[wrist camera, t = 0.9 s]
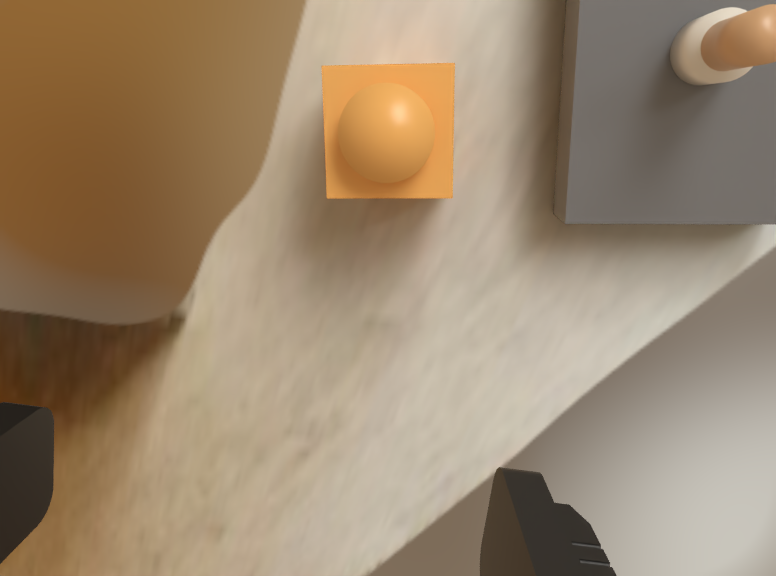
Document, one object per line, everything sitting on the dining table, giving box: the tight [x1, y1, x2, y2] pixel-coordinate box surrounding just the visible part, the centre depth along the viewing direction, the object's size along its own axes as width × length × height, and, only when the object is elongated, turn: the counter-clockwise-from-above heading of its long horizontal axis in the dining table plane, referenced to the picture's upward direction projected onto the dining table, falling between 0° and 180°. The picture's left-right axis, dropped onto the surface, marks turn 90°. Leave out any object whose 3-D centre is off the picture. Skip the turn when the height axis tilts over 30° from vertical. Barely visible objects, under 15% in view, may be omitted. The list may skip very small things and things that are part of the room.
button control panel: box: [553, 0, 776, 224], centre depth 23 cm, size 14×10×8 cm
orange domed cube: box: [322, 63, 455, 198], centre depth 26 cm, size 5×5×7 cm
